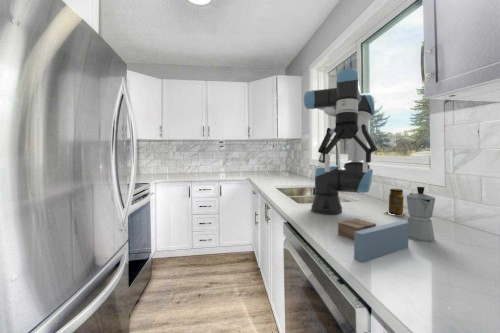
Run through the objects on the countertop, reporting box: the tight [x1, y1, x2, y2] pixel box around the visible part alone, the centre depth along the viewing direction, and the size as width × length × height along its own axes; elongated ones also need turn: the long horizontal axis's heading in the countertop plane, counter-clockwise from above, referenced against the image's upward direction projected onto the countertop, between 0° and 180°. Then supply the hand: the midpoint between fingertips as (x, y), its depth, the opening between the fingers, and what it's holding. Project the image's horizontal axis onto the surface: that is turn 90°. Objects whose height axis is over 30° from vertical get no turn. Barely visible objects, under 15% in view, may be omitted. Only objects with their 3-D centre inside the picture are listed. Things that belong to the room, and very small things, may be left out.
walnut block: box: [337, 218, 377, 242], centre depth 89 cm, size 10×8×5 cm
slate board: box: [353, 220, 409, 263], centre depth 74 cm, size 22×2×8 cm, turn 118°
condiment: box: [383, 188, 404, 217], centre depth 119 cm, size 7×8×12 cm
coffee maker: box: [406, 186, 436, 243], centre depth 87 cm, size 15×9×18 cm, turn 168°
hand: (345, 172), depth 88 cm, fingers open, 13 cm apart
